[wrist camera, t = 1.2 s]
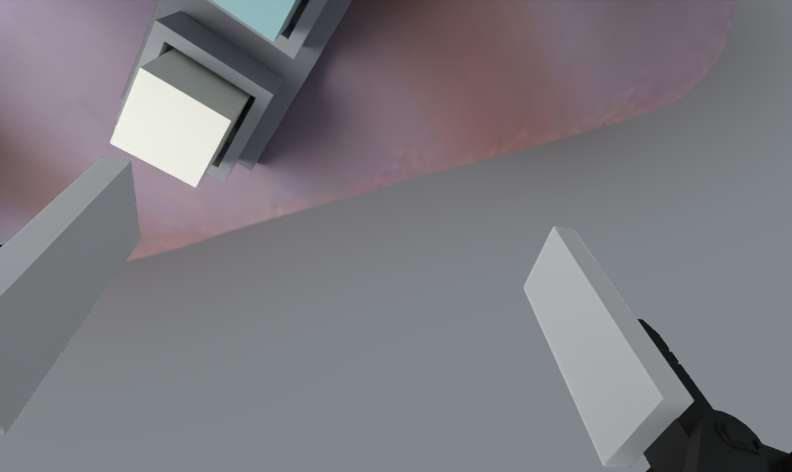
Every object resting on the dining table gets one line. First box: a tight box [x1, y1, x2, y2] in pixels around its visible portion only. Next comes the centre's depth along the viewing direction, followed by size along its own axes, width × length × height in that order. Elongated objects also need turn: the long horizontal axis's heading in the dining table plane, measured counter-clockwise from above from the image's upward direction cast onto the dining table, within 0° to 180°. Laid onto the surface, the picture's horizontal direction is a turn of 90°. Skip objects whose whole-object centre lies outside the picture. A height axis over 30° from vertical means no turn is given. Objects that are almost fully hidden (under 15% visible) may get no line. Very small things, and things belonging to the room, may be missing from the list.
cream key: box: [110, 48, 251, 187], centre depth 27 cm, size 5×5×5 cm
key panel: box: [115, 0, 352, 182], centre depth 29 cm, size 10×18×6 cm, turn 144°
